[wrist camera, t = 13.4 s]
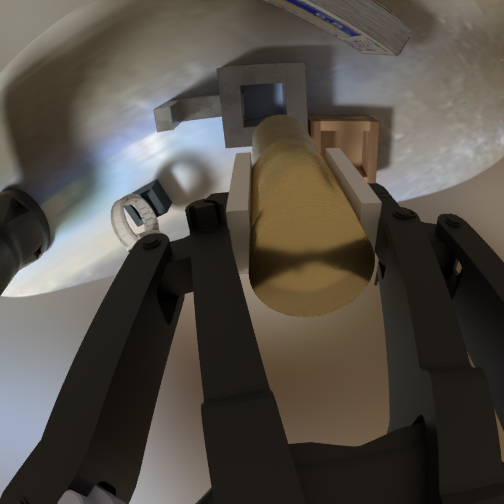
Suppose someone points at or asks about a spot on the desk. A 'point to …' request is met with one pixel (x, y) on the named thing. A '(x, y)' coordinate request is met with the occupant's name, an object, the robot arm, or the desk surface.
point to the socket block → (234, 77)
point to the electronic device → (353, 23)
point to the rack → (348, 139)
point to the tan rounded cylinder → (302, 226)
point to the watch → (139, 213)
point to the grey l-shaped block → (188, 110)
